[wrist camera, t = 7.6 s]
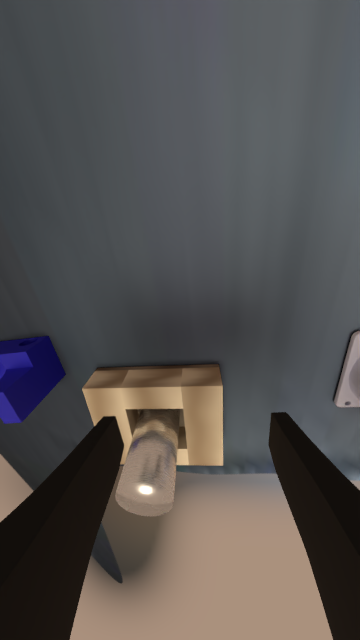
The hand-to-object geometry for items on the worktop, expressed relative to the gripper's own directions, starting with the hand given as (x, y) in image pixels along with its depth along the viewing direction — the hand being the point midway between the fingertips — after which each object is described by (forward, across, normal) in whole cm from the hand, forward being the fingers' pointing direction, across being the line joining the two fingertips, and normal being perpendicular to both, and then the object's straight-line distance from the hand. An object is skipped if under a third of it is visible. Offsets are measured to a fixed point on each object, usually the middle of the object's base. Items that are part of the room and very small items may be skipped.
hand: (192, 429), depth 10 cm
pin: (+9, +4, +8) cm, 13 cm away
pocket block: (+10, +4, +8) cm, 13 cm away
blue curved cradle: (+10, +20, +2) cm, 22 cm away
